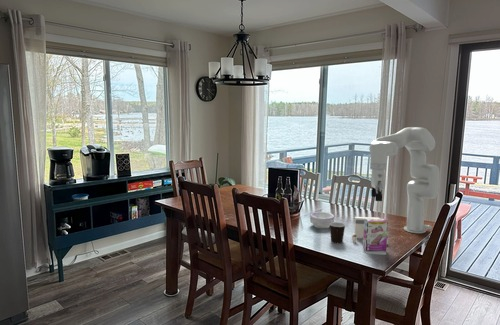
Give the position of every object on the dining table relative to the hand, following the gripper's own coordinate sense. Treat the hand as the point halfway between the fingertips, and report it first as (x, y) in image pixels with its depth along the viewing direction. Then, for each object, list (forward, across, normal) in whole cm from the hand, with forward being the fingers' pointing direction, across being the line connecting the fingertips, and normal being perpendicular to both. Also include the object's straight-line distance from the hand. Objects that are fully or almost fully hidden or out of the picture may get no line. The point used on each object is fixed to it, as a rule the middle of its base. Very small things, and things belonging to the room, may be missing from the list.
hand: (376, 198), depth 177 cm
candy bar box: (+28, -1, 0) cm, 28 cm away
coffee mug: (+28, +10, +19) cm, 36 cm away
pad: (+28, -1, 0) cm, 28 cm away
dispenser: (+28, +15, 0) cm, 32 cm away
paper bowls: (+28, +38, +25) cm, 54 cm away
